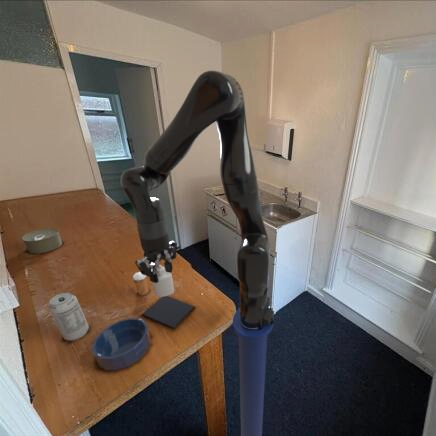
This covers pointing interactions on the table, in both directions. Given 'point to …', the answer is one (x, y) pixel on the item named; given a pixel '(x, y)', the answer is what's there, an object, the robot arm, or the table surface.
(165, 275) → the eye dropper bottle
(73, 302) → the energy drink can
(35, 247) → the can
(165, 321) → the mat
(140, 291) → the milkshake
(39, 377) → the table surface
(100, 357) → the bowl
